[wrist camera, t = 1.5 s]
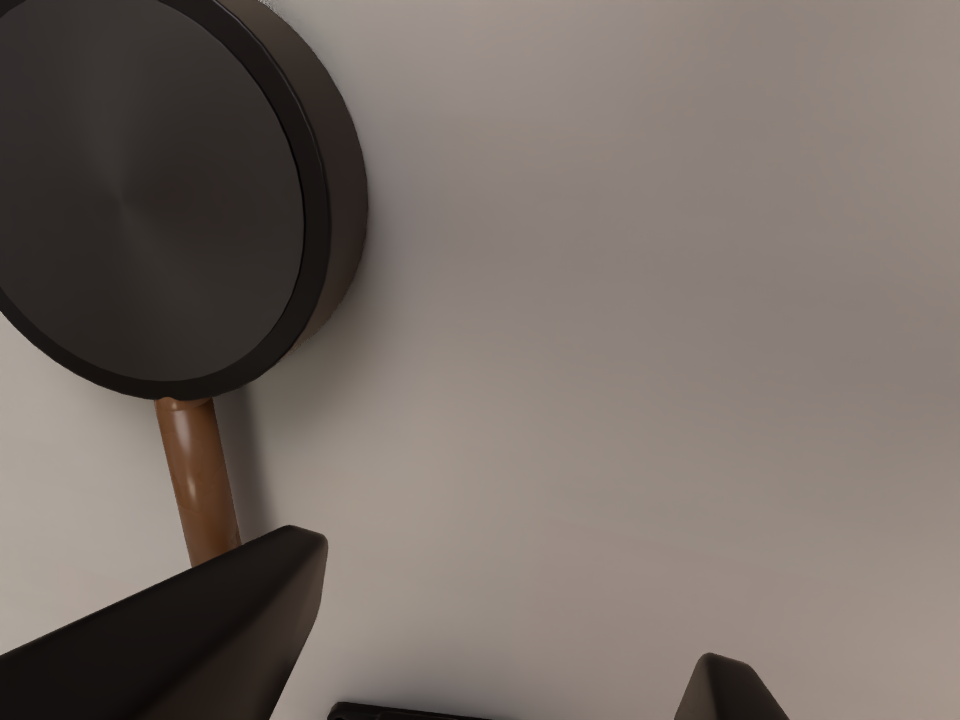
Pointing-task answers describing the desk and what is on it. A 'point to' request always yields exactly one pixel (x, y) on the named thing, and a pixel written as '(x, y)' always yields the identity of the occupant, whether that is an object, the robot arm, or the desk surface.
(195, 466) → the pan
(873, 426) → the desk surface
